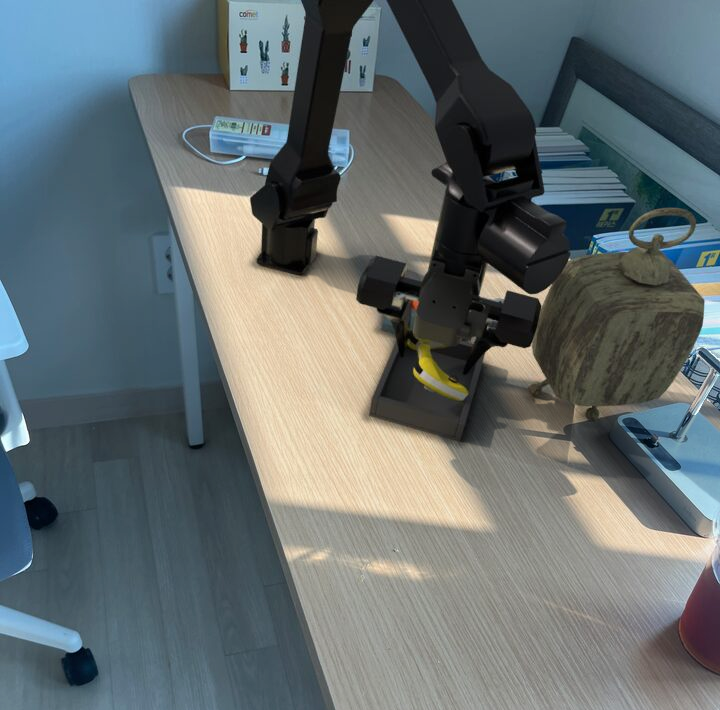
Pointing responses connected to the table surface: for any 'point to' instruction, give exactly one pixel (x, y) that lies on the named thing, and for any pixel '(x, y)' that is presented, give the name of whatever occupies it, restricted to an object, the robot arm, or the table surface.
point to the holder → (425, 392)
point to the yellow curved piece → (434, 370)
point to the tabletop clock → (618, 324)
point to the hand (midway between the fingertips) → (433, 363)
